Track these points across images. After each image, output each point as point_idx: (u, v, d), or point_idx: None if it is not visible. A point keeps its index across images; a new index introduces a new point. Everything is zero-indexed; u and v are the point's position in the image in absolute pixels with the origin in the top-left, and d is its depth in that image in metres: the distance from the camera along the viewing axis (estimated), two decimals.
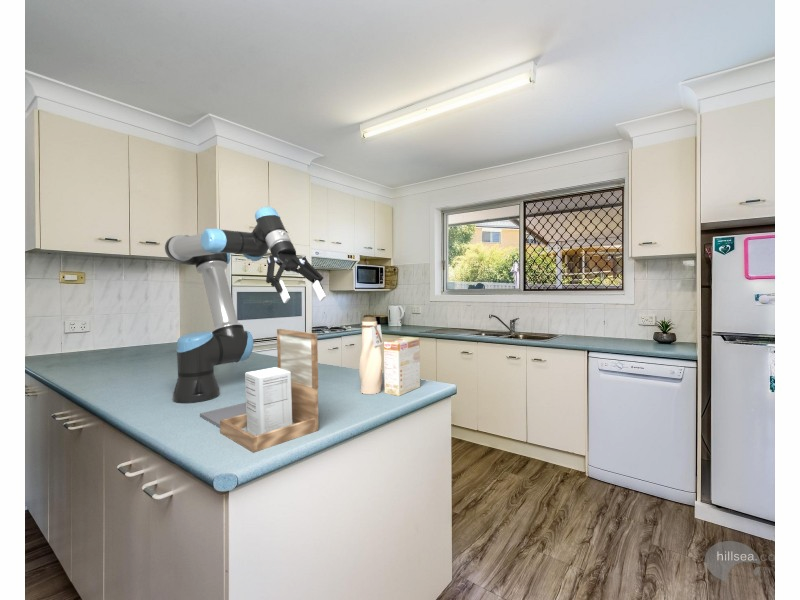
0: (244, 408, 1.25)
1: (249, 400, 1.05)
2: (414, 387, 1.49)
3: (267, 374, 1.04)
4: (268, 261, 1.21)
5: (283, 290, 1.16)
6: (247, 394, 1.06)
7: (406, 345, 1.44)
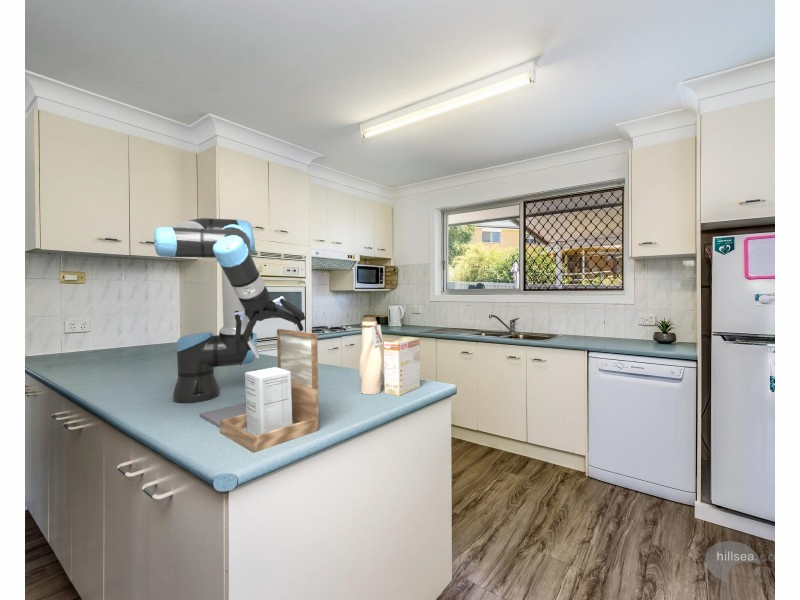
0: (244, 408, 1.25)
1: (249, 400, 1.05)
2: (414, 387, 1.49)
3: (267, 374, 1.04)
4: None
5: None
6: (247, 394, 1.06)
7: (406, 345, 1.44)
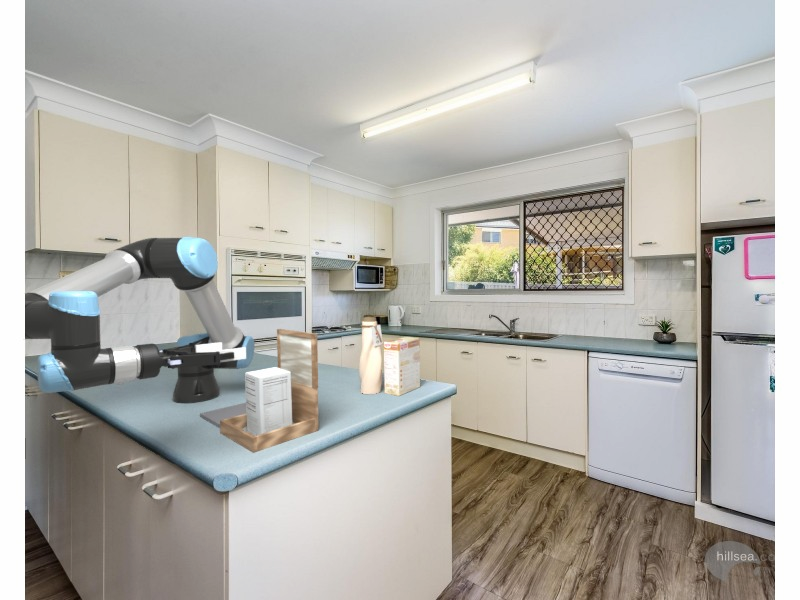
0: (244, 408, 1.25)
1: (249, 400, 1.05)
2: (414, 387, 1.49)
3: (267, 374, 1.04)
4: None
5: None
6: (247, 395, 1.06)
7: (406, 345, 1.44)
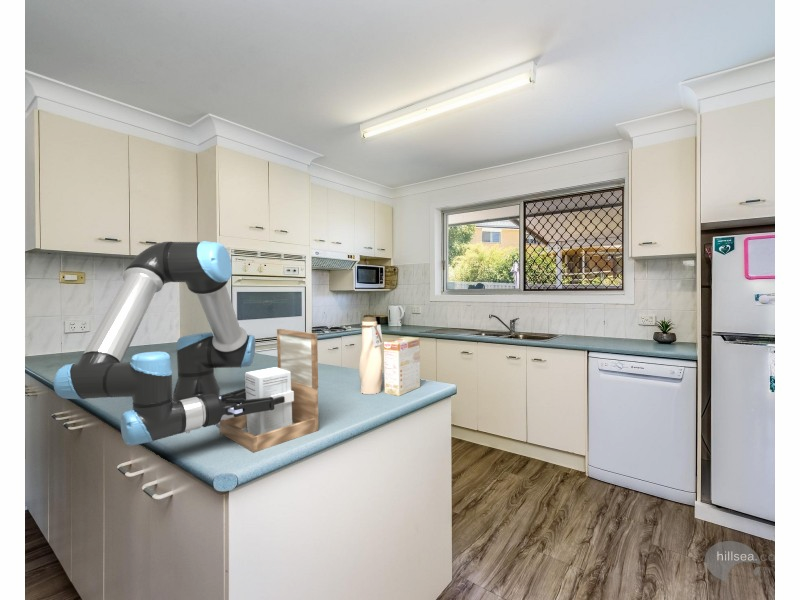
0: None
1: None
2: (414, 387, 1.49)
3: (267, 374, 1.04)
4: None
5: None
6: (247, 394, 1.06)
7: (406, 345, 1.44)
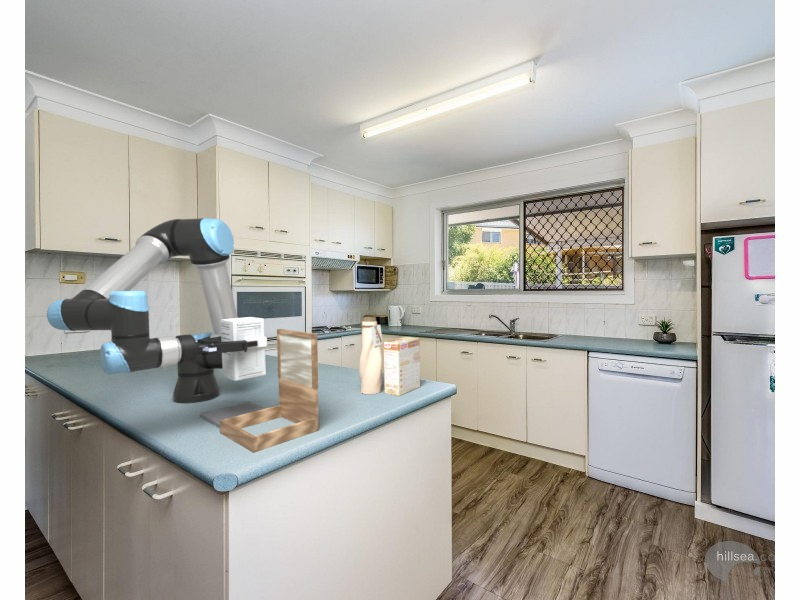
0: (244, 408, 1.25)
1: None
2: (414, 387, 1.49)
3: (241, 319, 1.10)
4: None
5: None
6: (222, 340, 1.13)
7: (406, 345, 1.44)
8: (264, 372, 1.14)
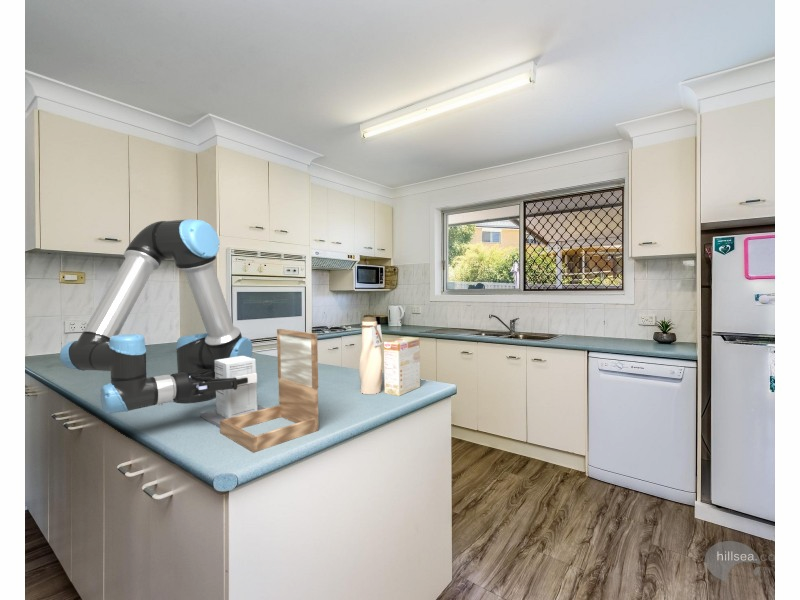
0: None
1: None
2: (414, 387, 1.49)
3: (234, 361, 1.17)
4: None
5: None
6: None
7: (406, 345, 1.44)
8: (256, 409, 1.21)
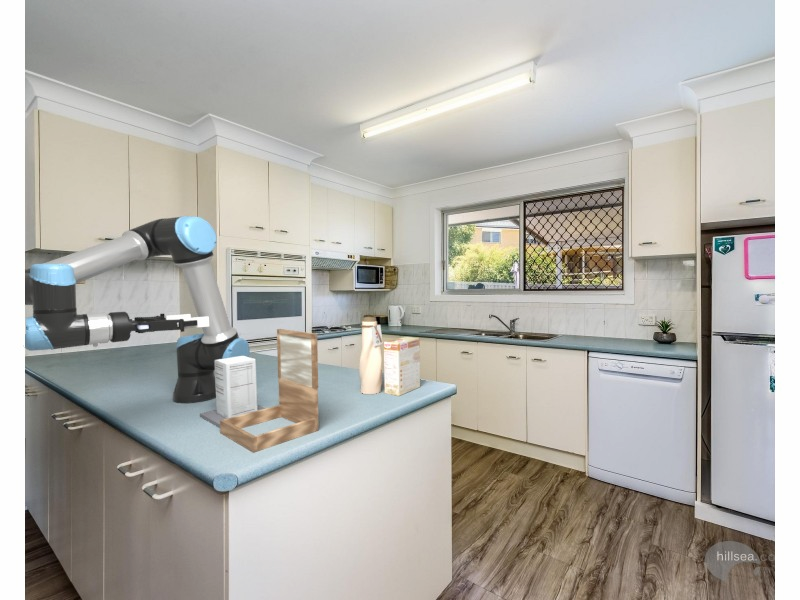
0: None
1: (218, 384, 1.18)
2: (414, 387, 1.49)
3: (234, 361, 1.17)
4: None
5: None
6: (216, 379, 1.19)
7: (406, 345, 1.44)
8: (256, 409, 1.21)
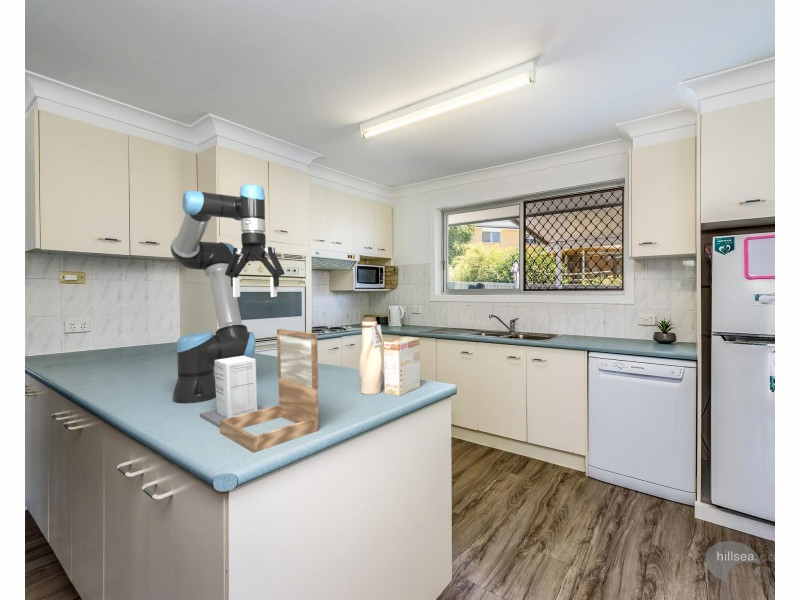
0: None
1: (218, 384, 1.18)
2: (414, 387, 1.49)
3: (234, 361, 1.17)
4: None
5: None
6: (216, 379, 1.19)
7: (406, 345, 1.44)
8: (256, 409, 1.21)
